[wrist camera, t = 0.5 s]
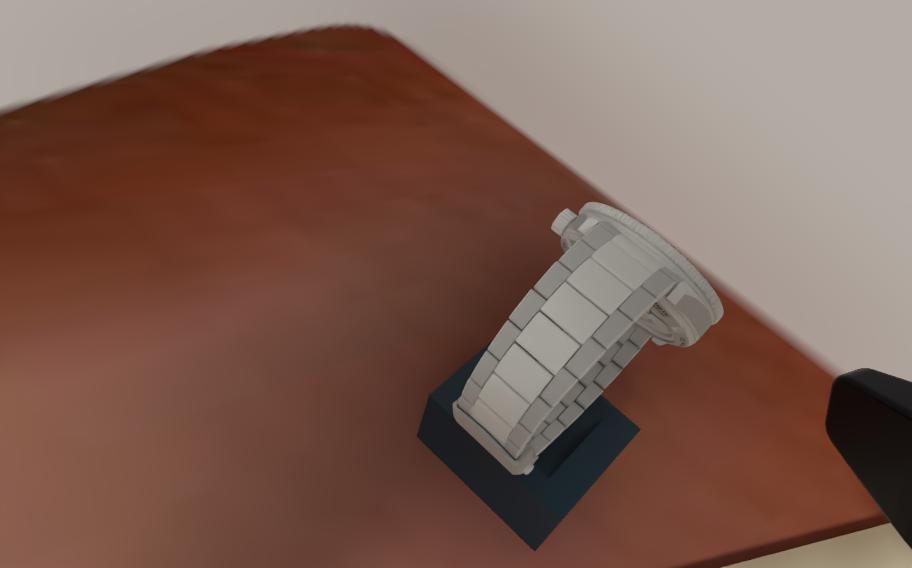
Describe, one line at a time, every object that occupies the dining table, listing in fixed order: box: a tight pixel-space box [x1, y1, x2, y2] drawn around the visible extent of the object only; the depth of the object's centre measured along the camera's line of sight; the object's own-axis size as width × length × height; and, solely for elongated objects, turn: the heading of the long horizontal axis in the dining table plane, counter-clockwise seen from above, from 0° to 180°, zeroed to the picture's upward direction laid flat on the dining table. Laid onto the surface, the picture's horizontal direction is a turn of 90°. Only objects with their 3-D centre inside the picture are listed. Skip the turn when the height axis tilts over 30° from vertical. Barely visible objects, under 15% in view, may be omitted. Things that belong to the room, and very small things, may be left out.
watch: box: [417, 202, 724, 551], centre depth 22 cm, size 6×8×11 cm
